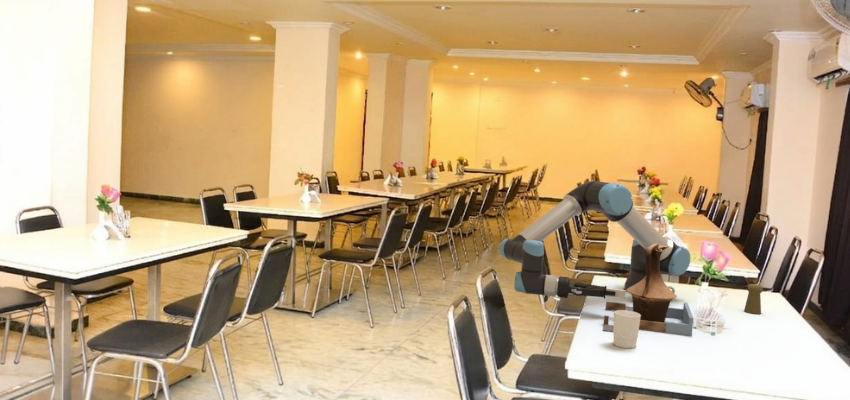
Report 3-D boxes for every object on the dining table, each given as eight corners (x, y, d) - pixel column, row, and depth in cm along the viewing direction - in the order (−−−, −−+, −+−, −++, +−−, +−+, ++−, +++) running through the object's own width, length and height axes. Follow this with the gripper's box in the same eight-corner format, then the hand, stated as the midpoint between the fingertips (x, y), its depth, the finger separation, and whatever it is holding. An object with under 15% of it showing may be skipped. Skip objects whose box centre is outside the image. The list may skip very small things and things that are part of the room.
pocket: (665, 332, 235) (667, 315, 235) (662, 316, 259) (663, 299, 258) (691, 336, 233) (693, 318, 232) (685, 318, 256) (687, 302, 256)
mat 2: (622, 311, 263) (622, 310, 263) (622, 306, 270) (622, 305, 270) (650, 314, 260) (650, 313, 260) (649, 309, 268) (649, 308, 268)
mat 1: (602, 330, 233) (602, 330, 233) (603, 325, 240) (603, 324, 240) (634, 334, 230) (634, 334, 230) (634, 328, 238) (634, 328, 238)
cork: (757, 311, 277) (760, 283, 276) (763, 314, 271) (766, 286, 270) (741, 309, 277) (744, 282, 276) (747, 313, 271) (750, 285, 270)
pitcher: (666, 331, 236) (674, 249, 234) (616, 321, 246) (623, 242, 243) (679, 322, 251) (687, 244, 248) (632, 313, 260) (639, 237, 258)
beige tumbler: (623, 350, 212) (626, 317, 211) (605, 342, 219) (608, 310, 218) (643, 347, 216) (646, 315, 215) (625, 340, 223) (627, 309, 222)
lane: (603, 324, 241) (604, 316, 240) (605, 309, 264) (606, 301, 264) (665, 332, 235) (666, 323, 235) (661, 315, 259) (662, 307, 258)
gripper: (558, 293, 263) (624, 300, 256) (555, 300, 250) (624, 308, 244) (560, 273, 262) (626, 280, 255) (556, 279, 249) (626, 287, 243)
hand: (625, 294), depth 250 cm, fingers closed
